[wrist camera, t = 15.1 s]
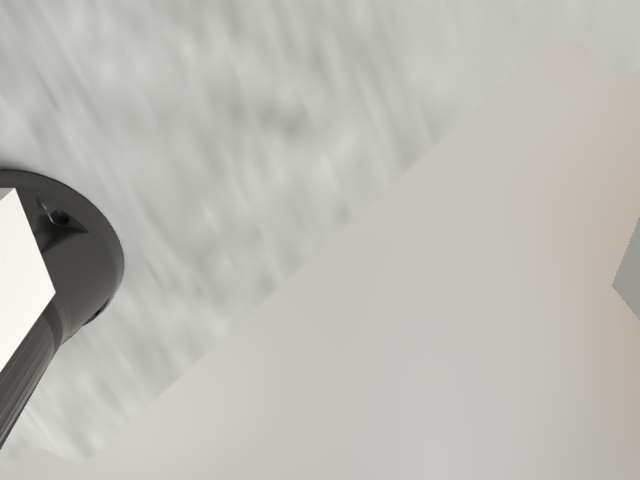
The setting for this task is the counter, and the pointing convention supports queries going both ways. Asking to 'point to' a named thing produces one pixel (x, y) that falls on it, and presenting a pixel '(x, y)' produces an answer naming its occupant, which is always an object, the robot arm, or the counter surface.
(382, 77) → the counter surface
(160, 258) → the counter surface
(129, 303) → the counter surface
